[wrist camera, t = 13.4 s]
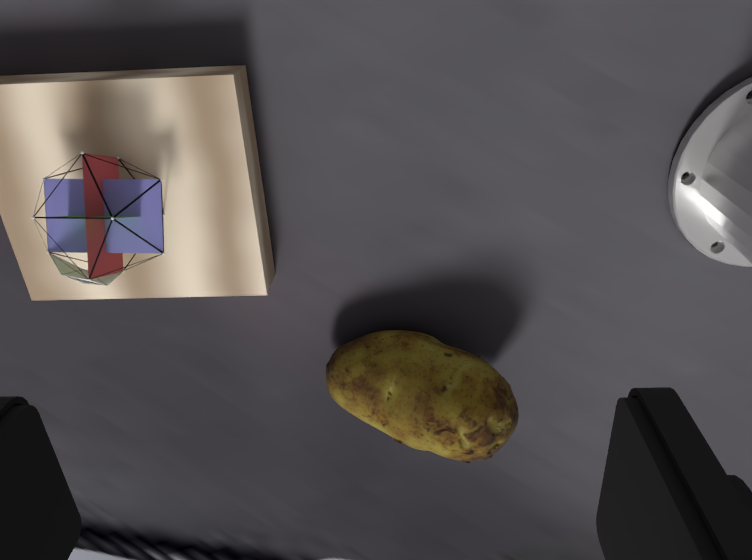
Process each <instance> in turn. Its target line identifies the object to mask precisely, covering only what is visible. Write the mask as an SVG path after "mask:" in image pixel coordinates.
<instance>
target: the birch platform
mask: <svg viewBox="0 0 752 560" xmlns="http://www.w3.org/2000/svg"><path fill="white" fill-rule="evenodd" d="M81 151H83V152H84V153H86V154H93V155H100V156H107V157H114V158H117V157H119V158H120V159H121V162H122V163H123V164H124V165H125V167H126V168H129V169H132V170H135V171H138V172H141V173H144V174H147V175H150V174H151V175H150V176H152V175H154V176H156V177H158V178H160V179H163V181H162V200H163V214H165V216H163V223H164V252H165V255H163V254H162V255H160V254H155V253H136V255H135V256H134V254H135V253H123V267H125V266H126V265H127V264H128V263H129V261H130V260H131V258H132V257H133V256H134V258H133V259H132V260H131V262H130V263H129V265H130V266H127V267H126V269H127V270H126V269H125V272H122V273H121V274H120V275H119V276H118V277H116V278H115V279H114V280H113V281H112V282H111V283H110V284H109V285H108V286H107V285H96V284H84V283H81V282H79V281H76V280H74V279H71V278H69V277H66V276H64V275H61V273H60V271H59V270H58V268H57V266H56V265H55V263H54V261H53V260H52V258H51V256H50V254H48V253H47V250H48V243H47V233H46V232H47V227H46V219H44V218H35V220H36V221H37V222H38V223H39V224H40V225H41V226H42V228H43V229H44V230H45V231H46V232H45V231H44V230H43V229H42V228H41V227H40V225H39V224H38V223H37V222H36V221H35V220H34V219H32V218H31V217H32V216H33V215H35V214H36V212H37V211H38V210H39V208H40V207H41V206H42V204H43V203H44V202H45V194H44V181H43V180H42V178H45V177H46V178H47V176H48V175H49V176H48V177H50V176H54V175H58V174H61V173H65V172H67V171H68V170H69V169H70V167H71V166H72V165H73V164H74V162H75V161H76V160H77V158H78V157H79V156H80V155H79V154H81ZM78 155H79V156H78ZM76 156H77V157H76ZM75 157H76V158H75ZM72 159H73V160H72ZM122 160H123V161H122ZM69 161H70V162H69ZM124 161H125V162H124ZM126 162H127V163H126ZM66 163H67V164H66ZM128 163H129V164H128ZM130 164H131V165H130ZM63 165H64V166H63ZM118 165H120V166H123V165H122V164H121V163H120V161H118ZM132 165H133V166H132ZM120 166H119V179H133V178H132V176H133V177H134V178H135V179H156V178H153V177H154V176H153V177H150V176H147V175H144V174H141V173H138V172H135V171H132V170H129V169H128V171H129V172H130V173H131V174H132V176H131V175H130V174H129V173H128V171H127V170H126V169H125V168H123V167H124V166H123V167H120ZM134 166H135V167H134ZM60 167H61V168H60ZM136 167H137V168H136ZM79 168H83V164H82V155H81V156H80V157H79V159H78V160H77V161H76V163H75V164H74V165H73V167H72V168H71V169H70V171H72V170H76V169H79ZM138 168H139V169H138ZM57 169H58V170H57ZM140 169H141V170H140ZM142 170H143V171H142ZM54 171H55V172H54ZM144 171H145V172H144ZM53 172H54V173H53ZM146 172H147V173H146ZM51 173H52V174H51ZM148 173H149V174H148ZM50 174H51V175H50ZM65 174H66V173H65ZM65 174H62V175H58V176H55V177H51V178H47V179H62V178H63V177H64V175H65ZM64 179H83V169H80V170H76V171H73V172H69V173H67V175H66V176H65V177H64ZM42 183H43V184H42ZM41 186H42V188H41ZM40 190H41V192H40ZM39 193H40V195H39ZM38 197H39V199H38ZM37 201H38V202H37ZM36 204H37V206H36ZM35 208H36V210H35ZM34 211H35V213H34ZM0 215H1V217H2V220H3V223H4V226H5V228H6V231H7V234H8V236H9V239H10V242H11V245H12V247H13V250H14V253H15V256H16V258H17V261H18V264H19V266H20V269H21V272H22V275H23V277H24V280H25V283H26V286H27V288H28V291H29V294H30V296H31V299H32V300H76V299H120V298H163V297H207V296H251V295H267V294H268V291H269V289H270V286H271V284H272V281H273V278H274V276H275V268H274V261H273V254H272V247H271V240H270V233H269V226H268V219H267V212H266V205H265V198H264V191H263V184H262V177H261V170H260V163H259V156H258V149H257V142H256V135H255V128H254V121H253V114H252V107H251V100H250V93H249V86H248V79H247V72H246V65H238V66H215V67H192V68H169V69H146V70H124V71H101V72H78V73H55V74H32V75H10V76H0ZM35 217H46V210H45V204H44V205H43V206H42V208H41V209H40V210H39V212H38V213H37V214H36V215H35ZM34 221H35V222H34ZM35 223H36V224H35ZM36 225H37V226H36ZM37 227H38V228H37ZM39 232H40V233H39ZM40 234H41V235H40ZM41 236H42V237H41ZM43 241H44V242H43ZM44 243H45V244H44ZM45 245H46V246H45ZM52 253H56V254H60V255H64V256H67V255H68V257H72V258H76V259H80V260H84V261H88V257H87V253H70V252H65V253H66V254H67V255H66V254H65V253H64V252H52ZM52 253H51V254H52ZM56 254H53V255H55V256H57V257H59V258H61V259H63V260H65V261H67V262H69V263H71V264H73V265H75V264H76V265H77V266H78V267H80V268H82V269H84V270H88V262H84V261H80V260H76V259H72V258H70V259H71V260H72V261H73V262H74V263H75V264H74V263H73V262H72V261H71V260H70V259H69V258H68V257H64V256H60V255H56ZM157 255H160V256H157ZM154 256H157V257H155V258H154ZM151 257H153V259H151ZM148 258H150V260H149V259H148ZM145 259H147V260H148V261H147V260H145ZM142 260H145V261H146V262H144V261H142ZM140 261H142V262H143V263H142V262H140ZM137 262H139V263H137ZM134 263H136V264H134ZM140 263H141V264H140ZM131 264H133V265H131ZM137 264H139V265H137ZM135 265H136V266H135ZM133 266H134V267H133ZM130 267H132V268H130ZM128 268H129V269H128ZM123 269H124V268H123Z"/></svg>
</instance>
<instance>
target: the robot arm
mask: <svg viewBox="0 0 752 560" xmlns="http://www.w3.org/2000/svg"><path fill="white" fill-rule="evenodd" d="M749 92H750V95H749V96H748V97H746V96H747V94H748V93H749ZM685 172H686V174H685V175H684V176H683V177H682V175H683V174H684V173H685ZM668 200H669V205H670V211H671V214H672V216H673V219H674V221H675V223H676V225H677V227H678V229H679V230H680V231H681V232H682V234H683V235H684V236H685V238H686V239H687V240H688V241H689V242H690V243H691V244H692V245H693V246H695V247H696V248H697V249H698V250H699V251H700V252H702V253H703V254H705V255H706V256H708V257H710V258H712V259H715V260H718V261H720V262H723V263H726V264H730V265H737V266H744V267H752V77H750V78H748V79H746V80H744V81H743V82H741V83H739V84H738V85H736V86H734V87H733V88H731V89H729V90H728V91H726V92H725V93H724V94H722V95H721V96H720V97H719V98H718V99H716V100H715V101H714V102H713V103H711V104H710V105H709V106H708V107H707V108H706V109H705V110H704V111H703V113H702V114H701V115H700V116H699V117H698V118H697V119H696V120H695V121H694V122H693V124H692V125H691V127H690V128H689V130H688V131H687V133H686V135H685V136H684V138H683V139H682V141H681V143H680V145H679V147H678V149H677V152H676V154H675V156H674V158H673V161H672V166H671V170H670V174H669V178H668ZM596 526H597V533H598V538H599V542H600V545H601V548H602V551H603V554H604V557H605V560H752V492H751V490H750V489H749V488H748V486H747V485H746V484H745V483H744V481H743V480H741V479H740V478H738V477H737V476H735V475H727V474H726V473H725V471H724V469H723V468H722V466H721V465H720V463H719V461H718V460H717V458H716V456H715V455H714V453H713V451H712V450H711V448H710V447H709V445H708V443H707V442H706V440H705V438H704V437H703V435H702V433H701V432H700V430H699V429H698V427H697V425H696V424H695V422H694V420H693V419H692V417H691V415H690V414H689V412H688V411H687V409H686V407H685V406H684V404H683V402H682V401H681V399H680V397H679V396H678V394H677V393H676V392H675V390H674V389H672V388H633V389H631V391H630V392H629V395H628V398H619V399H618V401H617V405H616V410H615V416H614V421H613V427H612V432H611V438H610V444H609V449H608V455H607V460H606V466H605V472H604V477H603V483H602V488H601V494H600V499H599V505H598V511H597V517H596ZM80 532H81V517H80V514H79V512H78V509H77V507H76V504H75V502H74V499H73V497H72V494H71V492H70V489H69V487H68V484H67V482H66V479H65V477H64V474H63V472H62V469H61V467H60V464H59V462H58V459H57V457H56V454H55V452H54V449H53V447H52V445H51V442H50V440H49V437H48V435H47V432H46V430H45V427H44V425H43V422H42V420H41V417H40V415H39V412H38V410H37V409H36V408H35V407H34V406H31V405H29V403H28V402H27V400H25V399H24V398H23V397H18V396H17V397H0V560H68V558H69V556H70V554H71V552H72V550H73V549H74V547H75V545H76V543H77V541H78V539H79V536H80Z"/></svg>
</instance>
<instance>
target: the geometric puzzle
mask: <svg viewBox="0 0 752 560" xmlns="http://www.w3.org/2000/svg"><path fill="white" fill-rule="evenodd" d="M79 155H80V156H81V155H82V164H83V168H79V169H76V170H80V169H83V179H64V177H65V176H66V175H67V173H69V172H73V171H76V170H72V171H70V169H71V168H72V167H73V165H74V164H75V163H76V161H77V160H78V159H79V157H80V156H79ZM79 155H78V156H79V157H78V158H77V160H76V161H75V162H74V164H73V165H72V166H71V167H70V169H69V170H68V171H67V172H65V173H66V174H65V173H61V174H58V175H62V174H65V175H64V177H63V178H62V179H47V178H51V177H55V176H58V175H54V176H50V177H48V176H49V175H48V176H47V178H46V177H45V178H42V180H43V181H44V194H45V202H44V203H43V204H42V206H43V205H44V204H45V210H46V217H35V215H36V214H37V213H38V212H39V210H40V209H41V208H42V206H41V207H40V208H39V210H38V211H37V212H36V214H35V215H33V216H32V217H31V218H32V219H34V220H35V218H44V219H46V227H47V232H46V231H45V230H44V229H43V228H42V226H41V225H40V224H39V223H38V222H37V221H36V220H35V221H36V222H37V223H38V224H39V225H40V227H41V228H42V229H43V230H44V231H45V232H46V233H47V243H48V250H47V253H48V254H50V256H51V258H52V260H53V261H54V263H55V265H56V266H57V268H58V270H59V271H60V273H61V275H64V276H66V277H69V278H71V279H74V280H76V281H79V282H81V283H84V284H96V285H107V286H108V285H109V284H110V283H111V282H112V281H113V280H114V279H115V278H116V277H118V276H119V275H120V274H121V273H122V272H125V269H126V267H127V266H130V265H129V263H130V262H131V260H132V259H133V258H134V256H135V255H136V253H155V254H160V255H162V254H163V255H165V252H164V223H163V216H165V214H163V200H162V181H163V179H160V178H158V177H156V176H154V175H152V176H150V175H151V174H150V175H147V174H144V173H141V172H138V171H135V170H132V169H129V168H126V167H125V165H124V164H123V163H122V162H121V159H120V158H119V157H117V158H114V157H107V156H100V155H93V154H86V153H84V152H83V151H81V154H79ZM76 157H77V156H76ZM76 157H75V158H76ZM72 160H73V159H72ZM118 161H120V163H121V164H122V165H123V166H124V167H123V166H120V165H118ZM122 161H123V160H122ZM69 162H70V161H69ZM124 162H125V161H124ZM126 163H127V162H126ZM66 164H67V163H66ZM128 164H129V163H128ZM130 165H131V164H130ZM63 166H64V165H63ZM119 166H120V167H123V168H125V169H126V170H127V171H128V169H129V170H132V171H135V172H138V173H141V174H144V175H147V176H150V177H153V176H154V177H153V178H156V179H135V178H134V177H133V176H132V174H131V173H130V172H129V171H128V173H129V174H130V175H131V176H132V178H133V179H119ZM132 166H133V165H132ZM134 167H135V166H134ZM60 168H61V167H60ZM136 168H137V167H136ZM138 169H139V168H138ZM57 170H58V169H57ZM140 170H141V169H140ZM142 171H143V170H142ZM54 172H55V171H54ZM54 172H53V173H54ZM144 172H145V171H144ZM146 173H147V172H146ZM51 174H52V173H51ZM51 174H50V175H51ZM148 174H149V173H148ZM42 184H43V183H42ZM41 188H42V186H41ZM40 192H41V190H40ZM39 195H40V193H39ZM38 199H39V197H38ZM37 202H38V201H37ZM36 206H37V204H36ZM35 210H36V208H35ZM34 213H35V211H34ZM35 221H34V222H35ZM35 224H36V223H35ZM36 226H37V225H36ZM37 228H38V227H37ZM39 233H40V232H39ZM40 235H41V234H40ZM41 237H42V236H41ZM43 242H44V241H43ZM44 244H45V243H44ZM45 246H46V245H45ZM52 252H64V253H65V252H70V253H87V257H88V261H84V260H80V259H76V258H72V257H68V255H67V254H66V253H65V254H66V255H67V256H64V255H60V254H56V253H52ZM51 253H52V254H51ZM123 253H135V254H134V256H133V257H132V258H131V260H130V261H129V263H128V264H127V265H126V266H125V267H123ZM53 254H56V255H60V256H64V257H68V258H69V259H70V258H72V259H76V260H80V261H84V262H88V270H84V269H82V268H80V267H78V266H77V265H76V264H75V263H74V262H73V261H72V260H71V259H70V260H71V261H72V262H73V263H74V264H75V265H73V264H71V263H69V262H67V261H65V260H63V259H61V258H59V257H57V256H55V255H53ZM160 255H157V256H160ZM157 256H154V258H155V257H157ZM148 259H149V260H150V258H148ZM151 259H153V257H151ZM145 260H147V259H145ZM145 260H142V261H144V262H146V261H145ZM142 261H140V262H142ZM147 261H148V260H147ZM137 263H139V262H137ZM142 263H143V262H142ZM134 264H136V263H134ZM140 264H141V263H140ZM131 265H133V264H131ZM137 265H139V264H137ZM135 266H136V265H135ZM133 267H134V266H133ZM123 268H124V269H123ZM130 268H132V267H130ZM128 269H129V268H128ZM126 270H127V269H126Z"/></svg>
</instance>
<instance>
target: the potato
mask: <svg viewBox="0 0 752 560" xmlns="http://www.w3.org/2000/svg"><path fill="white" fill-rule="evenodd" d="M326 367H327V368H326V383H327V388H328V390H329V393H330V395H331V397H332V398H333V399H334V400H335V401H336V402H337V403H338V404H339V405H340V406H341V407H342V408H344V409H345V410H347V411H348V412H350V413H351V414H353V415H354V416H356V417H358V418H359V419H361V420H363V421H364V422H366V423H368V424H370V425H372V426H374V427H375V428H377V429H379V430H381V431H383V432H384V433H386V434H388V435H390V436H391V437H393V438H394V440H395V441H396V442H398V443H404V444H406V445H408V446H410V447H412V448H415V449H418V450H425V451H431V452H434V453H436V454H438V455H440V456H443V457H446V458H450V459H453V460H459V461H463V462H466V463H470V462H471V461H475V460H486V459H488V458H491V457H492V455H493V454H494V453H496V452H497V451H498V450H499V449H500V448H501V447H502V446H503V445H504V444H505V443H506V441H507V440H508V439H509V438H510V436H511V435H512V433H513V432H514V430H515V428H516V425H517V422H518V407H517V403H516V400H515V397H514V395H513V393H512V390H511V387H510V385H509V384H508V383H507V381H506V380H505V379H504V377H502V376H501V375H500V374H499V373H498V372H497V371H496V370H495V369H494V368H493V367H492V366H490V365H489V364H488V363H487V362H485V361H484V360H483V359H481V357H480V356H478V355H476V354H473V353H471V352H468V351H464V350H462V349H459V348H456V347H452V346H448V345H445V344H443V343H441V342H440V341H439V340H437V339H436V338H434V337H433V336H430V335H427V334H424V333H421V332H414V331H406V330H386V331H379V332H374V333H370V334H367V335H364V336H361V337H359V338H357V339H355V340H353V341H350V342H348V343H346V344H344V345H342V346H341V347H339V348H338V349H337V350H336V351H335V352H334V353H333V354H332V356H331V358H330V360H329V362H328V363H327V365H326Z"/></svg>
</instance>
